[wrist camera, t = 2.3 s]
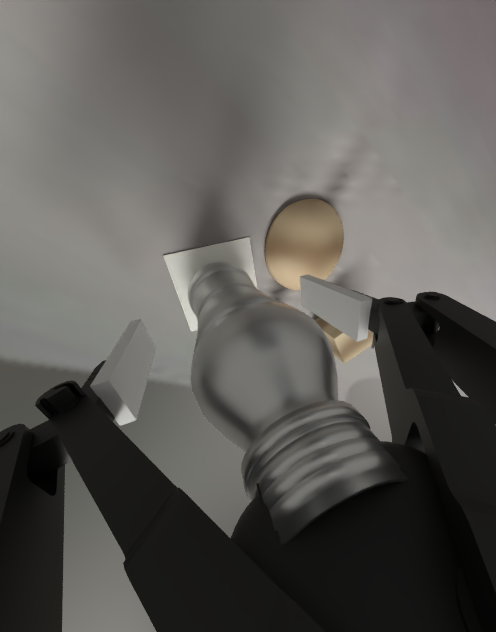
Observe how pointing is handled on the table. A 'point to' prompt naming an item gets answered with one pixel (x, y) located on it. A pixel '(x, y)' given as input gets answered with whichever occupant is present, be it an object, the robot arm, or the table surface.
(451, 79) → the table surface
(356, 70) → the table surface
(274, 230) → the cork coaster
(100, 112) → the table surface
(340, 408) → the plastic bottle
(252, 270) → the card
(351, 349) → the oak block
